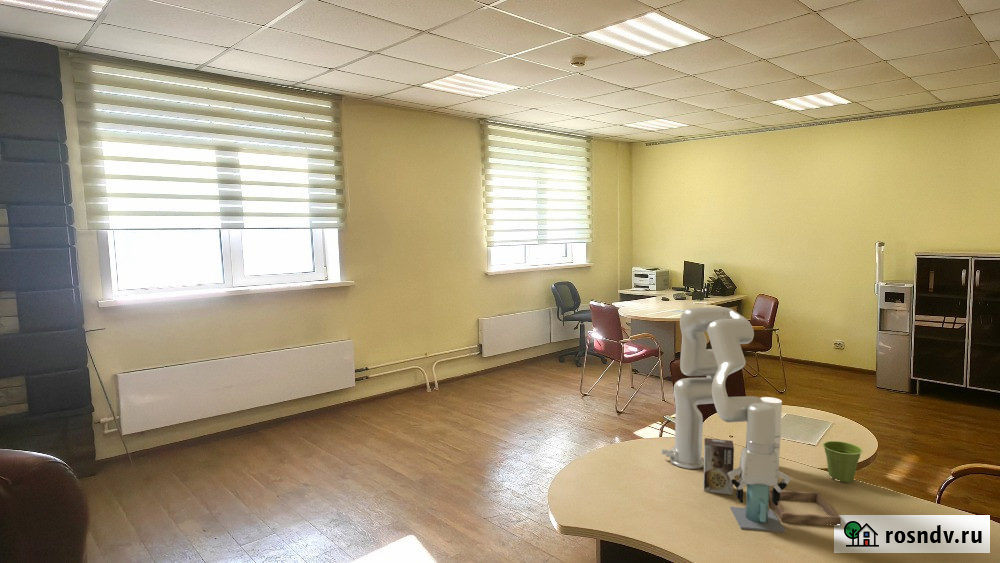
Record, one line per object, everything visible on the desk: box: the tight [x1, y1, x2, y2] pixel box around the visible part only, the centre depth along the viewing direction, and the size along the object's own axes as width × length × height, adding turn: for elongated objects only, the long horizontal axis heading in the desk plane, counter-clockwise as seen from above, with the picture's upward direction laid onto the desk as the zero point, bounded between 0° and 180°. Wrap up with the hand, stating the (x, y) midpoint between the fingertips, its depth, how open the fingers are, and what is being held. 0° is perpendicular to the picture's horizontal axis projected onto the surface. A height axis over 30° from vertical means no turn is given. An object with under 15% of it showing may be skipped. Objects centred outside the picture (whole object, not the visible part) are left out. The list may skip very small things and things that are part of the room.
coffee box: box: [702, 437, 735, 496], centre depth 185 cm, size 9×6×16 cm
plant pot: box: [822, 440, 864, 483], centre depth 194 cm, size 12×12×11 cm
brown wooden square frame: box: [769, 488, 842, 526], centre depth 172 cm, size 16×16×2 cm
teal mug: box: [745, 484, 770, 523], centre depth 164 cm, size 9×6×11 cm, turn 171°
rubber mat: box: [730, 506, 786, 533], centre depth 166 cm, size 12×12×1 cm
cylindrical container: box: [759, 396, 783, 470], centre depth 202 cm, size 7×7×25 cm
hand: (757, 502), depth 166 cm, fingers open, 9 cm apart
